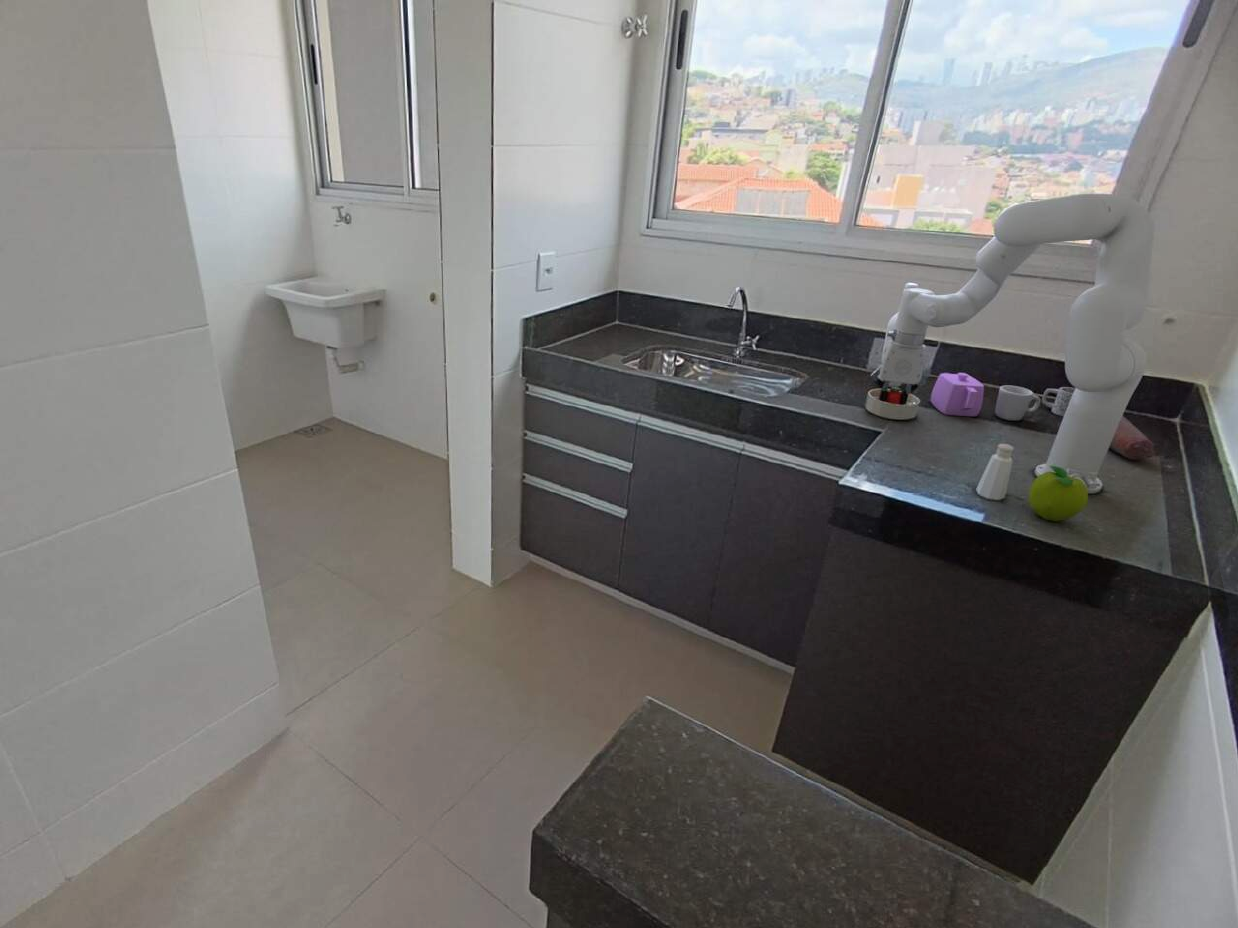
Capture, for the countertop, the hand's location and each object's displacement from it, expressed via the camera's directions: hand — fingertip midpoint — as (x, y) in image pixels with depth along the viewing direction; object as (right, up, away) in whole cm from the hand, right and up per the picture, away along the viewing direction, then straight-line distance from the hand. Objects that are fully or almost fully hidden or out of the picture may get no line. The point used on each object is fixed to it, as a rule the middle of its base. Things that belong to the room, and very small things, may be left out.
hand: (891, 404), depth 176 cm
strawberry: (0, 0, 0) cm, 0 cm away
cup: (+34, -4, +2) cm, 34 cm away
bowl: (0, -2, +1) cm, 2 cm away
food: (+49, -12, -12) cm, 51 cm away
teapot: (+20, -1, +7) cm, 21 cm away
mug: (+51, -1, +9) cm, 52 cm away
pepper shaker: (+4, -23, -40) cm, 46 cm away
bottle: (+9, +8, +24) cm, 27 cm away
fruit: (+11, -27, -48) cm, 56 cm away
